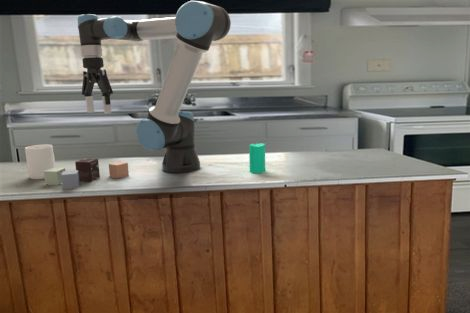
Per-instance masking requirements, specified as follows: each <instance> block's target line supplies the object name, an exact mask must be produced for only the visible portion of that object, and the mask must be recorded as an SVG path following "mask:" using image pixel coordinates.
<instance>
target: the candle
mask: <svg viewBox="0 0 470 313" xmlns="http://www.w3.org/2000/svg"><path fill="white" fill-rule="evenodd" d="M248 146H249V147H248V148H249V172H250V174H264V173H265V172H266V143H263V142H262V143H261V142H260V143H251V144H249V145H248Z"/></svg>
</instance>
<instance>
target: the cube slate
mask: <svg viewBox="0 0 470 313" xmlns="http://www.w3.org/2000/svg"><path fill="white" fill-rule="evenodd" d="M61 178H62V184H61V185H62V190H65V188H66V189H75V188H79V186H80V183H81V181H79V173H78V170H76V169H75V170H65V171H63V172H62V174H61Z"/></svg>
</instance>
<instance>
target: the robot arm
mask: <svg viewBox="0 0 470 313" xmlns="http://www.w3.org/2000/svg"><path fill="white" fill-rule="evenodd" d="M231 25H232V24H231V18H230V15H229V13H228V12H227V10H225V8H223V7H222V6H219V5H216V4H212V3H209V2H206V1H203V0H202V1H201V0H190V1H187V2H185V3H184V4H182V5H181V6H180V7H179V8H178V9H177V12H176V15H175V16H172V17H161V18H150V19H139V20H128V19H123V17H121V16H109V17H104V18H99V17H98V15H96V14H91V13H87V14H85V13H84V14H79V15H78V16H77V28H78V29H77V30H78V36H79V42H80V51H81V54H80V55H81V57H82V60H81V61H82V67H83V68H84V69H86V70H84V71H82V76H83V79H82V88H81V95H82V96H84V98H85V105H86V112H87V114H90V113H93V114H94V113H95V107H94V106H95V104H94V97H93V90H94V87H95V84H97V86H98V88H99V90H100V92H101V97H102V105H103V106H102V107H103V113H104V114H107V115H108V114H112V113H113V112H112V104H111V95H113V93H114V90H113V88H112V86H111V82H110V81H109V77H108V75H107V70H106V69H103V68H104V66H105V64H104V58H103V57H102V56H103V48H102V41H106V40H117V41H118V40H119V41H130V42H143V41H148V40H149V41H150V40H165V39H166V40H167V39H176V41H177V46H176V49H175V51H174V53H173V56H172V59H171V62H170V65H169V68H168V69H167V70H168V71H167V74H166V76H165V78H164V81H163V84H162V87H161V89H160V92H159V94H158V98H157V100H156V103H155V104H154V105H153V106H151V107H150V108H149V110H148V112H147V115H146V117H145V118H143V119H141V120H140V121H138V122H137V125H136V129H135V135H136V138H137V139H138V143H139V144H140V145H141V146H142V148H144V149H145V150H148V151H152V152H153V151H160V150H163V149H165V152H164V156H163V160H162V163H161V169H162V171H164V172H167V173H191V172H194V171H197V170H199V169H201V161H200V158H199V156H198V152H197V151H196V145H195V144H196V141H195V140H196V138H195V135H196V134H195V119H194V114H193V112H191V111H181V109H182V106H183V103H184V100H185V98H186V95H187V94H188V90H189V88H190V86H191V84H192V80H193V78H194V75H195V73H196V70H197V68H198V65H199V63H200V61H201V58H202V55H203V54H204V53H206V52H208V51H210V50H209V49H210V48H211V45H212V43H213V42H217V41H221V40H223V39H224V38H225V37H226V36H227V35H228V34H229V33H230V30H231Z"/></svg>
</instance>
